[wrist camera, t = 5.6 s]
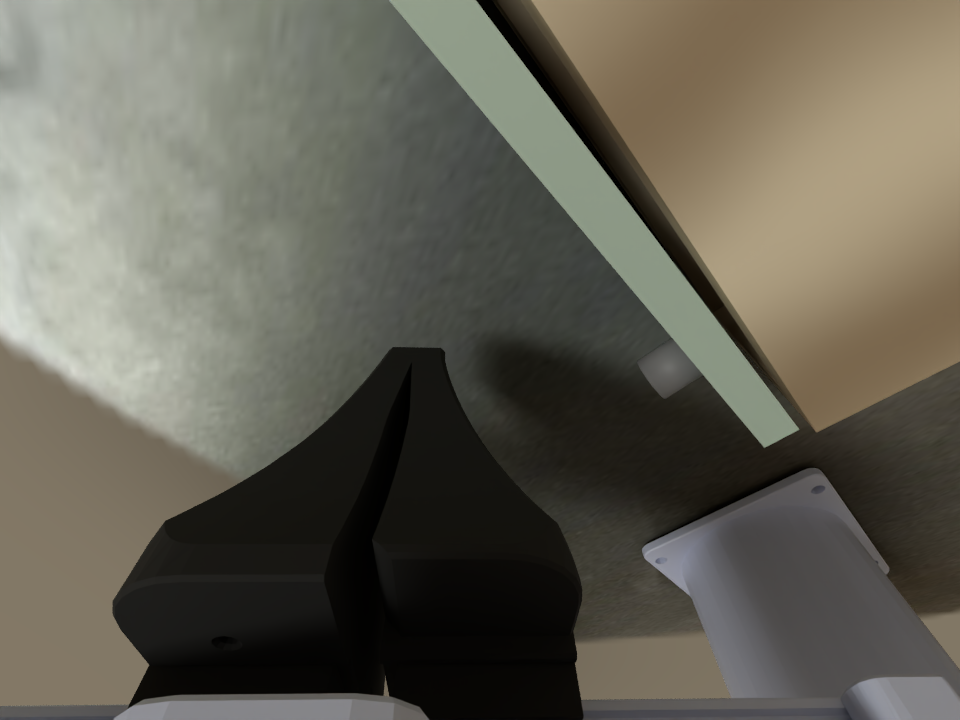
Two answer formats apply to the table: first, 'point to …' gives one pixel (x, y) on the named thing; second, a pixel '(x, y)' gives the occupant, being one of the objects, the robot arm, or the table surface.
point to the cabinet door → (596, 210)
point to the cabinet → (784, 170)
